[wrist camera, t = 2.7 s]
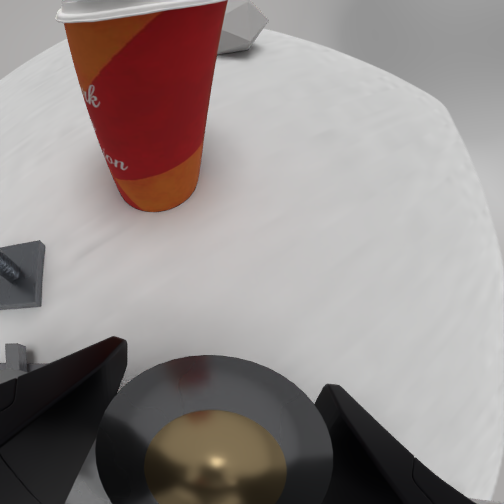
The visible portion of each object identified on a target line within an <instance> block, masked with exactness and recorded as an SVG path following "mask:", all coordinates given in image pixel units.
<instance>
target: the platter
mask: <svg viewBox="0 0 504 504" xmlns="http://www.w3.org/2000/svg"><path fill="white" fill-rule="evenodd" d="M5 350H6V369H5V370H0V384H1V383H3V382H6V381H8V380H11V379H13V378H18V376H21V375H23V374H26V373H28V372H27V363H26V346H23V345H21V344H18V343H17V344H5ZM95 447H96V439H95V441H94V443H93V445H92V447H91V449H90V451H89V453H88V455H87V458H86V460H85V462H84V464H83V466H82V468H81V470H80V472H79V474H78V476H77V478H76V480H75V483H74V485H73V487H72V489H71V491H70V493H69V496H68V498H67V500H66V502H65V504H112V503H111V501H110V500H109V498H108V496H107V494H106V492H105V491H104V488H103V486H102V483H101V481H100V478H99V474H98V470H97V465H96V455H95Z"/></svg>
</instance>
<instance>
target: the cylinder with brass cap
mask: <svg viewBox="0 0 504 504" xmlns="http://www.w3.org/2000/svg"><path fill="white" fill-rule="evenodd" d="M95 455H96V465H97V470H98V474H99V478H100V481H101V483H102V486H103V488H104V491H105V492H106V494H107V496H108V498H109V500H110V501H111V503H112V504H321V503H322V501H323V499H324V497H325V495H326V493H327V490H328V487H329V484H330V480H331V476H332V469H333V450H332V443H331V438H330V435H329V432H328V429H327V426H326V424H325V422H324V420H323V418H322V416H321V414H320V412H319V411H318V409H317V408H316V406H315V405H314V403H313V402H312V401H311V400H310V399H309V398H308V397H307V395H306V394H305V393H304V392H303V391H302V390H300V389H299V388H298V387H297V386H296V385H295V384H294V383H292V382H291V381H289V380H288V379H286V378H285V377H284V376H282V375H281V374H279V373H277V372H275V371H273V370H271V369H269V368H267V367H265V366H262V365H259V364H257V363H254V362H251V361H247V360H243V359H239V358H234V357H227V356H216V355H201V356H189V357H184V358H179V359H174V360H171V361H168V362H165V363H162V364H159V365H157V366H155V367H152V368H150V369H148V370H146V371H144V372H143V373H141V374H140V375H138V376H137V377H135V378H134V379H132V380H131V381H130V382H129V383H128V384H126V385H125V386H124V387H123V388H122V389H121V390H120V391H119V392H118V393H117V395H116V396H115V397H114V398H113V399H112V401H111V402H110V404H109V406H108V407H107V409H106V410H105V412H104V415H103V417H102V419H101V422H100V424H99V428H98V432H97V436H96V447H95Z"/></svg>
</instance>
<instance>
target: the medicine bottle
mask: <svg viewBox="0 0 504 504" xmlns="http://www.w3.org/2000/svg"><path fill="white" fill-rule="evenodd" d="M469 499H470V500H472V501H473V502H475V503H477V504H504V502H495V501H486V500H478V499H471V498H469Z"/></svg>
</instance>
